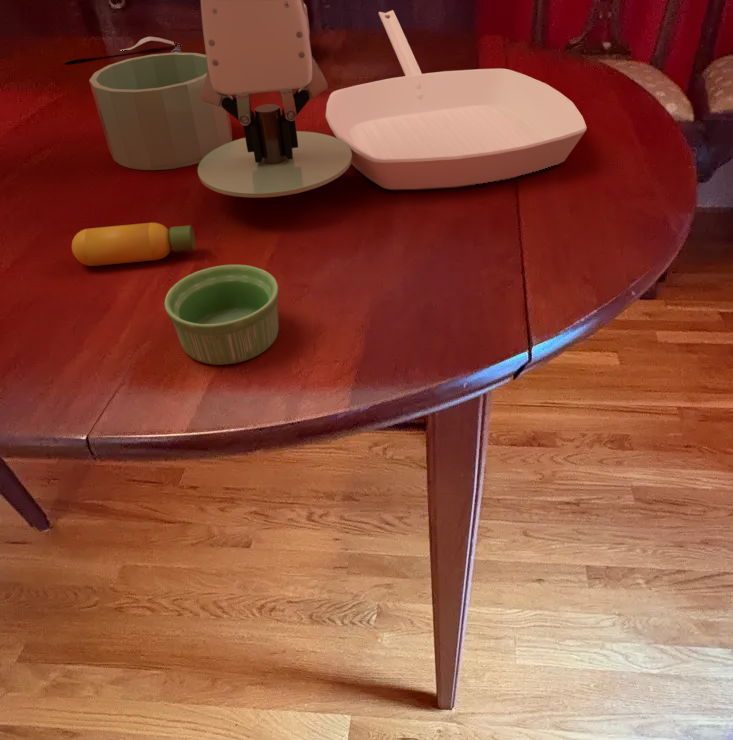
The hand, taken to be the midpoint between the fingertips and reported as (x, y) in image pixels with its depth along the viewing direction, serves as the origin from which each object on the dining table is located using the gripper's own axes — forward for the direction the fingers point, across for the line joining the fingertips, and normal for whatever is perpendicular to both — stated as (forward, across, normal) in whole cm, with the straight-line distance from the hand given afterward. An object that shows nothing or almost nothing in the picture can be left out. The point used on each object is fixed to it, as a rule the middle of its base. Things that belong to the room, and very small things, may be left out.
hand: (274, 154), depth 77 cm
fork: (+5, +29, -67) cm, 73 cm away
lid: (+1, 0, 0) cm, 1 cm away
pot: (+5, +14, -19) cm, 24 cm away
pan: (+5, -20, -18) cm, 27 cm away
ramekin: (+5, +4, +26) cm, 27 cm away
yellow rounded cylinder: (+5, +15, +11) cm, 19 cm away
